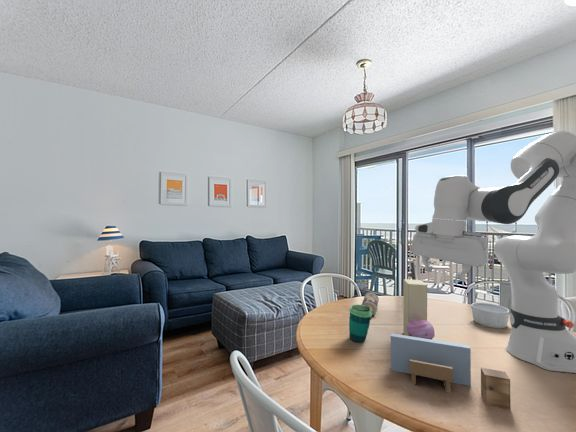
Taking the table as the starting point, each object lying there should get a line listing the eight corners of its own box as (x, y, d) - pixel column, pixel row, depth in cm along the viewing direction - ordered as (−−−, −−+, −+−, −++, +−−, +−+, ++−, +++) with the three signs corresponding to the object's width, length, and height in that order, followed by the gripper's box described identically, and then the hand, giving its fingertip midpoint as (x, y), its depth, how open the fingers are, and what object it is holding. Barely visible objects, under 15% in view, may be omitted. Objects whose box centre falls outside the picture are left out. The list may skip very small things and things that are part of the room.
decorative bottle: (363, 303, 142) (363, 291, 143) (378, 305, 140) (378, 292, 140) (357, 320, 118) (357, 305, 119) (375, 323, 116) (375, 307, 116)
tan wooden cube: (505, 400, 66) (505, 371, 66) (511, 410, 62) (511, 380, 63) (481, 395, 68) (480, 367, 68) (485, 405, 64) (485, 375, 65)
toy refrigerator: (429, 343, 97) (429, 284, 97) (408, 341, 98) (407, 283, 98) (423, 334, 104) (422, 279, 105) (403, 332, 106) (402, 279, 106)
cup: (354, 333, 105) (354, 302, 105) (374, 338, 100) (374, 306, 100) (345, 341, 98) (345, 308, 99) (367, 347, 94) (367, 312, 94)
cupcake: (401, 343, 97) (401, 315, 97) (425, 342, 97) (424, 314, 97) (415, 355, 88) (415, 325, 88) (440, 354, 88) (440, 324, 88)
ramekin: (515, 331, 107) (515, 314, 107) (477, 327, 111) (476, 310, 111) (501, 319, 119) (501, 304, 120) (467, 316, 124) (467, 301, 124)
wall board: (469, 382, 73) (468, 345, 74) (476, 399, 66) (476, 358, 66) (390, 366, 81) (390, 333, 81) (389, 380, 74) (389, 344, 74)
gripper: (493, 233, 73) (488, 284, 73) (421, 226, 90) (418, 267, 91) (483, 233, 70) (478, 286, 70) (410, 225, 87) (406, 268, 87)
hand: (443, 275), depth 80 cm, fingers open, 8 cm apart
